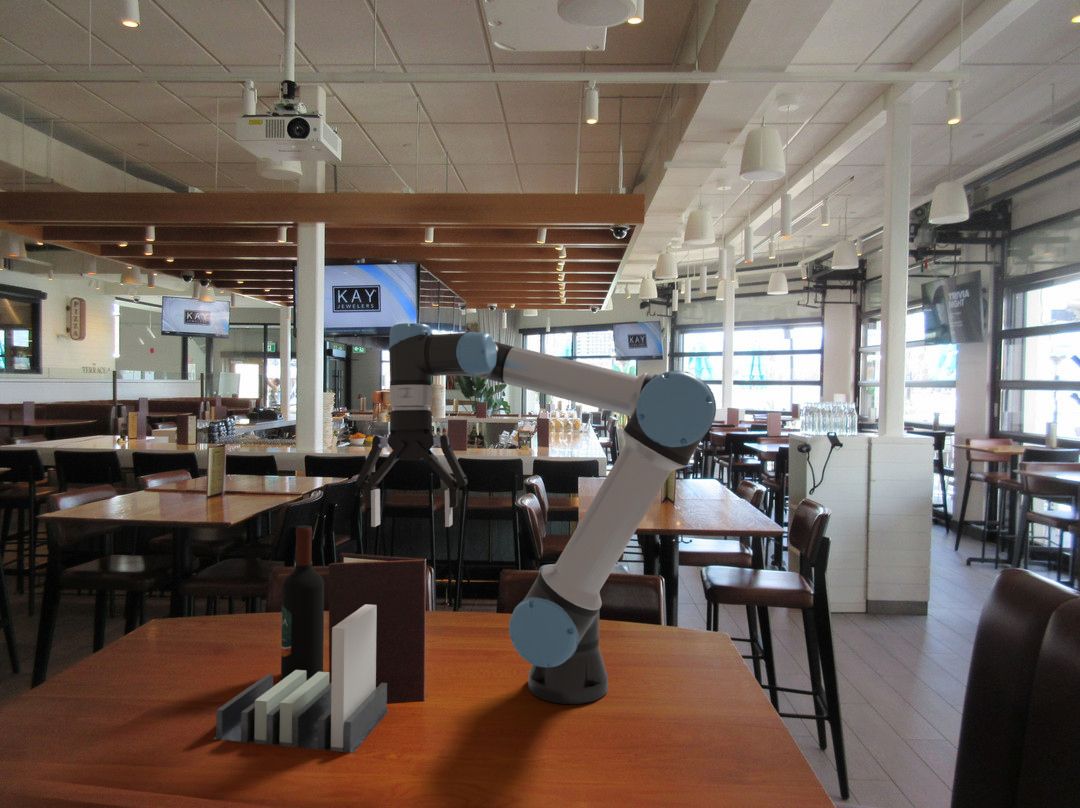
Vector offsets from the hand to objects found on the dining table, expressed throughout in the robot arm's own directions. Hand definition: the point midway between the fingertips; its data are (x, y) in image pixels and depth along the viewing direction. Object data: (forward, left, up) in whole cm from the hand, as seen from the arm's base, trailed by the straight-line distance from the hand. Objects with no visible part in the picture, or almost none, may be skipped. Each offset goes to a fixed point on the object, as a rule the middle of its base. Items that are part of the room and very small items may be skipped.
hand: (412, 525), depth 119 cm
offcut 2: (+12, +15, -30) cm, 36 cm away
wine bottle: (+22, -2, -32) cm, 39 cm away
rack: (+12, +15, -31) cm, 37 cm away
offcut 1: (+16, +15, -30) cm, 37 cm away
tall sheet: (+4, +15, -30) cm, 34 cm away
